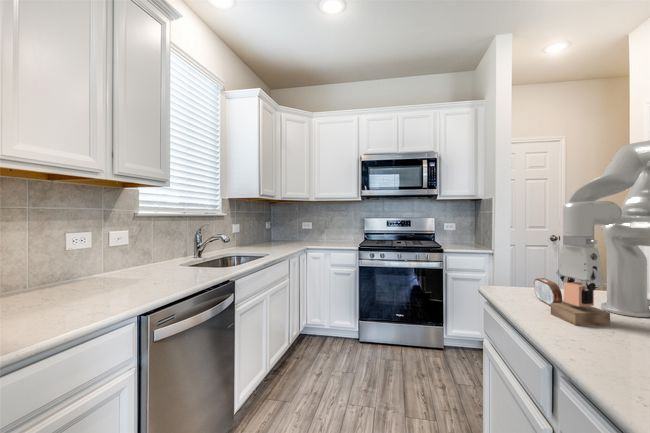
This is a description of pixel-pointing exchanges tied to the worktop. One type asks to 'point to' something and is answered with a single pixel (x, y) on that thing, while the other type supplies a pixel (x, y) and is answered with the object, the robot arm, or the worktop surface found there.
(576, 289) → the salmon pink block
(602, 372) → the worktop surface
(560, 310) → the walnut base
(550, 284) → the tin
